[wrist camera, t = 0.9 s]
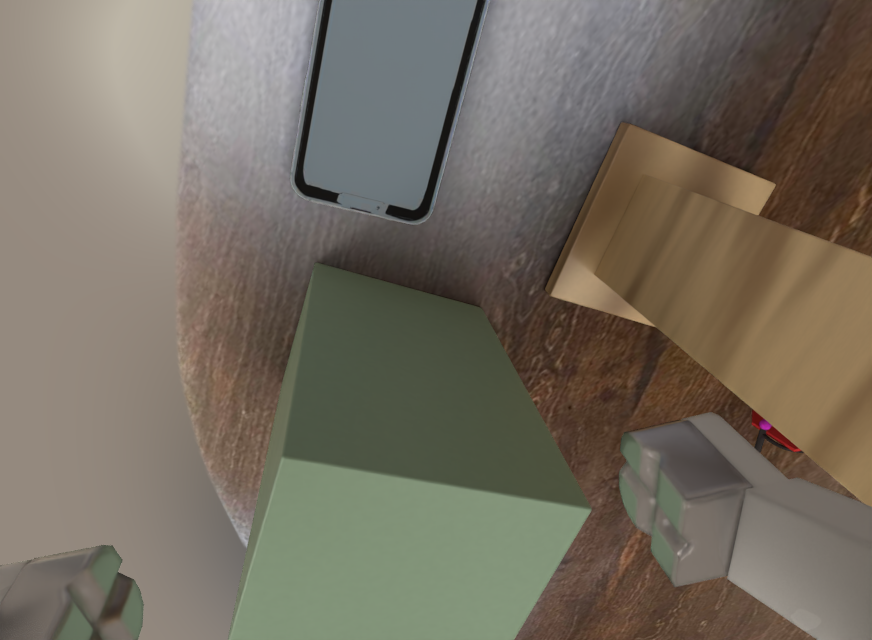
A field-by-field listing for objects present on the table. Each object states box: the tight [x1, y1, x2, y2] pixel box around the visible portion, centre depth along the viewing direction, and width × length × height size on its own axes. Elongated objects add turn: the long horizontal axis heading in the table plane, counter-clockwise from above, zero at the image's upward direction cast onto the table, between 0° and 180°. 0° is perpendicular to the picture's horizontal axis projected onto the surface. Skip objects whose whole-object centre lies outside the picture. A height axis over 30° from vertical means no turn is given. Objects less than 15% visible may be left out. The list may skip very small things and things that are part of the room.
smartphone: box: [290, 0, 490, 225], centre depth 24 cm, size 7×1×15 cm
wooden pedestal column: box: [545, 122, 872, 507], centre depth 19 cm, size 10×10×26 cm
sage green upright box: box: [228, 263, 591, 640], centre depth 24 cm, size 10×8×16 cm
